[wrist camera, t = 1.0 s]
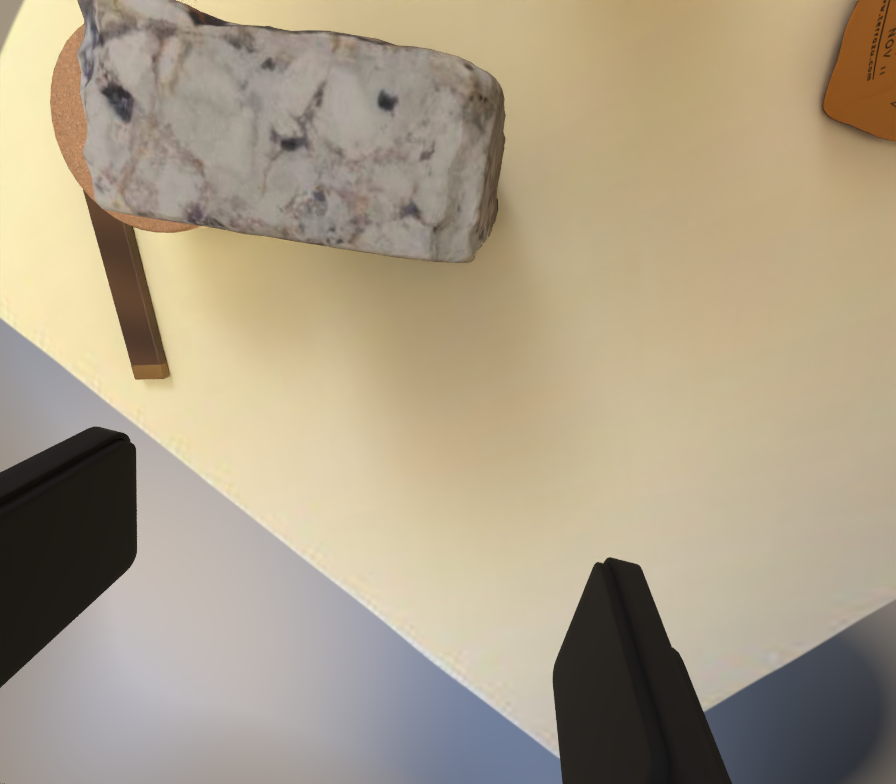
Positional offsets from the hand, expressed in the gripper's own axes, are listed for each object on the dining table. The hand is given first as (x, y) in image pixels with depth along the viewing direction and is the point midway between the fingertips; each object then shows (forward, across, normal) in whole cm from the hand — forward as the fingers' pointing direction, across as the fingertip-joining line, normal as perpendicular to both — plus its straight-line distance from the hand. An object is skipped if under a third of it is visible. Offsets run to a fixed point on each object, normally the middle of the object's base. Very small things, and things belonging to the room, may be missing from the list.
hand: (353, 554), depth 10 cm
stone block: (+28, +6, -8) cm, 29 cm away
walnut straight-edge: (+27, +26, +1) cm, 38 cm away
